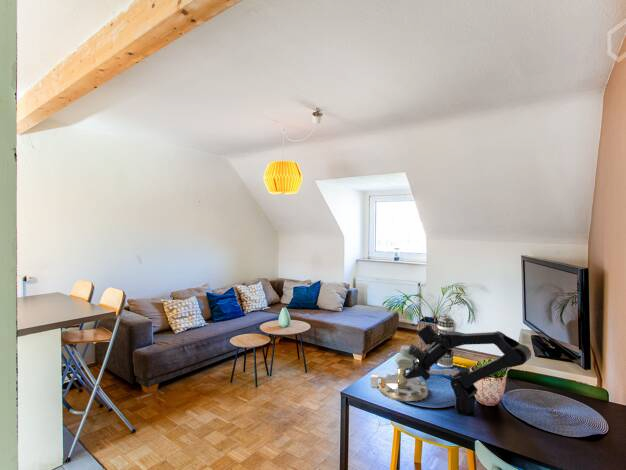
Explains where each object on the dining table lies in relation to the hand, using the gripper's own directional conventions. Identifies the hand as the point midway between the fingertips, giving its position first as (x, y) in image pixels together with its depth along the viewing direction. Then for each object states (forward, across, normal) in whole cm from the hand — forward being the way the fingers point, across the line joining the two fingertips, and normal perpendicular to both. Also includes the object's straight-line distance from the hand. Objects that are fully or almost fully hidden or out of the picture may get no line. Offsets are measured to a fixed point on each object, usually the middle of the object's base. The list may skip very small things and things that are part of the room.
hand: (406, 377), depth 146 cm
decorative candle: (-9, -43, +19) cm, 48 cm away
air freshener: (+5, -34, +6) cm, 35 cm away
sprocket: (+5, -6, +3) cm, 9 cm away
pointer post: (+15, -7, -4) cm, 17 cm away
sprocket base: (+6, -6, +5) cm, 10 cm away
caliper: (-5, -27, +16) cm, 32 cm away
